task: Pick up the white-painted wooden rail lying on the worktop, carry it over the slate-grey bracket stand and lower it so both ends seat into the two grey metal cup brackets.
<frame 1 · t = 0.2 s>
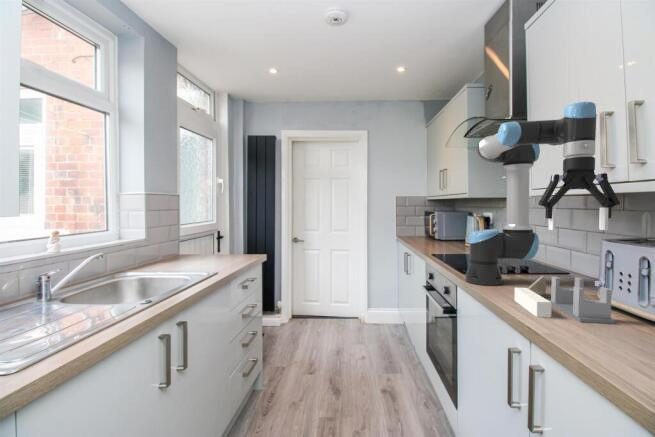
hand: (577, 230, 98), 27 cm above the countertop, fingers open, 13 cm apart
stone: (532, 296, 127), on the countertop
bracket stand: (578, 312, 107), on the countertop
rail: (531, 309, 111), on the countertop
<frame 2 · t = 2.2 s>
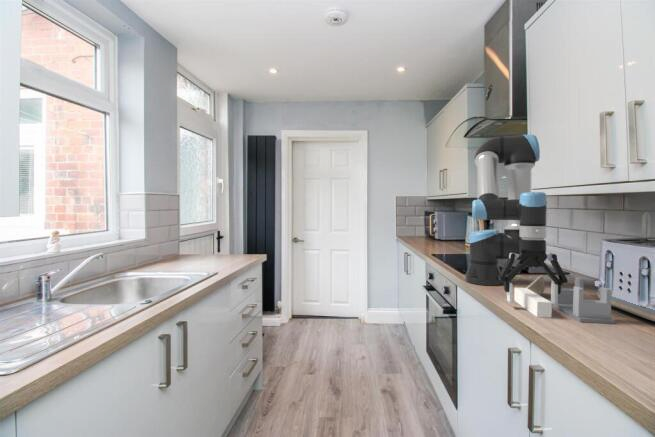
hand: (531, 302, 111), 2 cm above the countertop, fingers open, 13 cm apart
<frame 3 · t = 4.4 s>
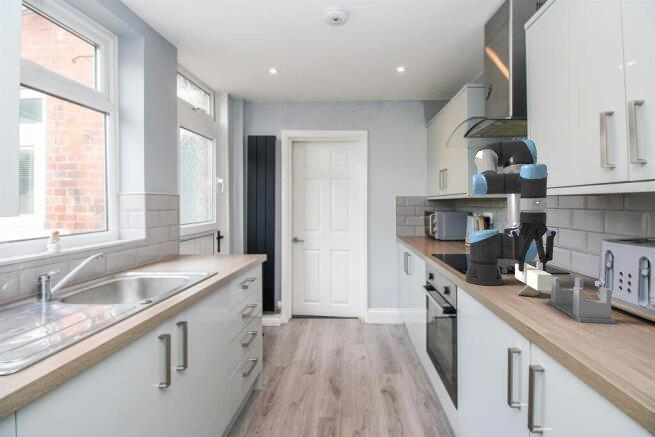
hand: (531, 281, 111), 9 cm above the countertop, fingers closed on rail, 4 cm apart
rail: (531, 283, 111), point 8 cm above the countertop, touching gripper
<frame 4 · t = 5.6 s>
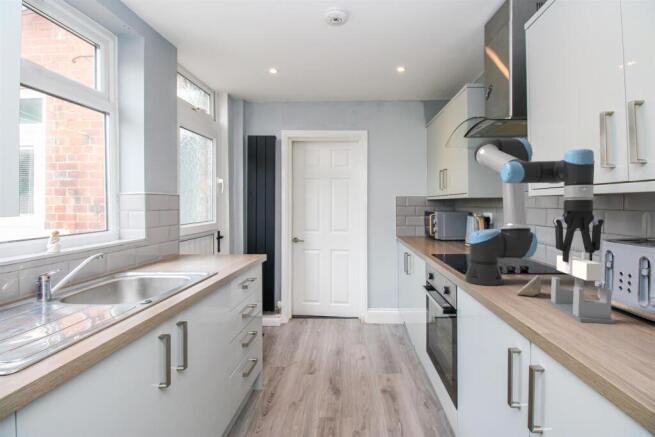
hand: (576, 272, 106), 13 cm above the countertop, fingers closed on rail, 4 cm apart
rail: (577, 274, 106), point 12 cm above the countertop, touching gripper
when the fingers open (5 cm above the countertop, at t = 7.3 s): rail stays where it is, resting on bracket stand.
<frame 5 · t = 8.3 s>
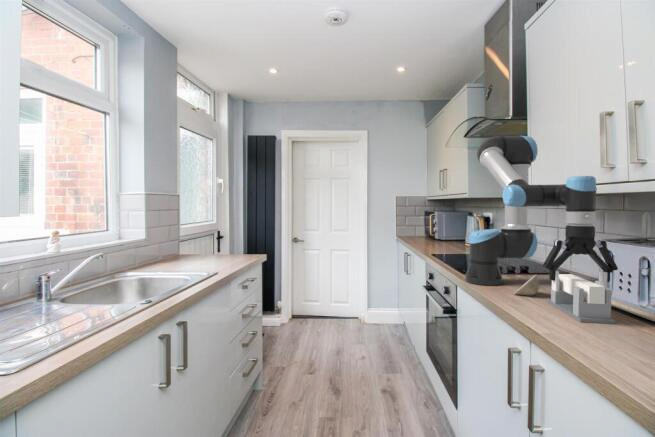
hand: (578, 291, 107), 7 cm above the countertop, fingers open, 13 cm apart
rail: (579, 295, 106), point 5 cm above the countertop, touching bracket stand
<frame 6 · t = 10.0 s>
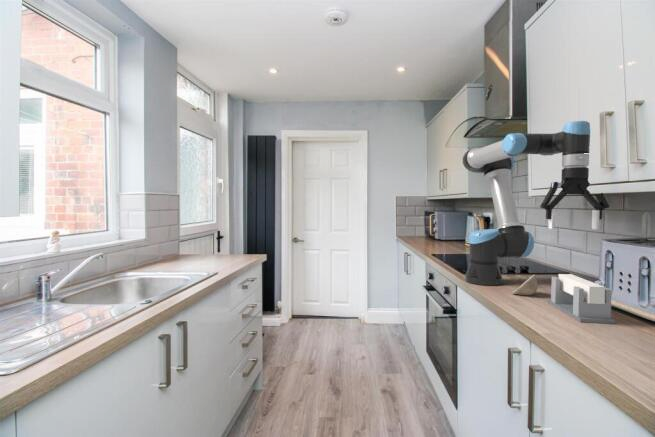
hand: (573, 228, 116), 26 cm above the countertop, fingers open, 13 cm apart
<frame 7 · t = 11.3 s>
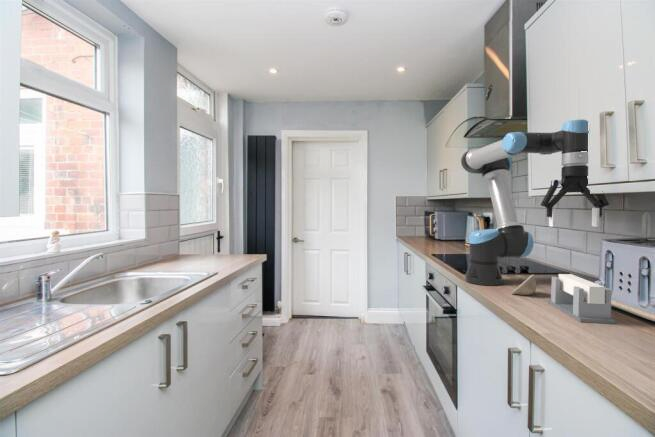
hand: (573, 226, 117), 27 cm above the countertop, fingers open, 13 cm apart
at the end: rail 0.4 cm off-centre on the bracket stand, point 5.5 cm above the bracket stand's base; rail tilted 0°; the gripper is holding nothing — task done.
